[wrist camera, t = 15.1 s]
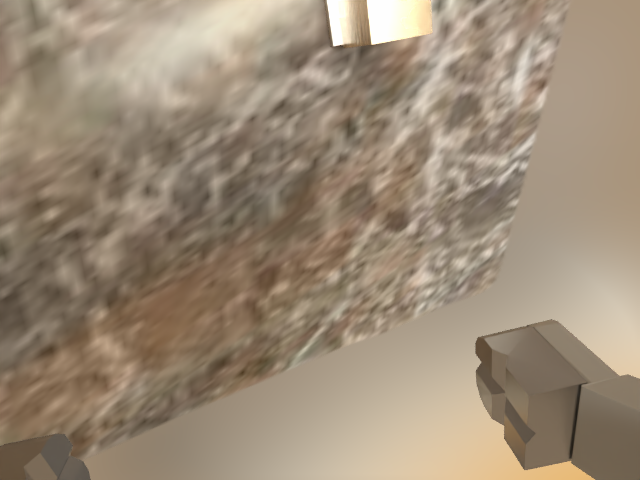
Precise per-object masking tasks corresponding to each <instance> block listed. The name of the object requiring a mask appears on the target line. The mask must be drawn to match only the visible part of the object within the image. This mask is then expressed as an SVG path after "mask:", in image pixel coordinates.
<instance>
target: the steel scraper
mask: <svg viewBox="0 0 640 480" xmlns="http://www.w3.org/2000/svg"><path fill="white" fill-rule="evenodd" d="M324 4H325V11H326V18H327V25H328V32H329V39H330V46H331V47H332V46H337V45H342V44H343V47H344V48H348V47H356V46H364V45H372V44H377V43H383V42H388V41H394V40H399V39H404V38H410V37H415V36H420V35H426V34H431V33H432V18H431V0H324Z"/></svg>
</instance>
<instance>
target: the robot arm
mask: <svg viewBox="0 0 640 480" xmlns="http://www.w3.org/2000/svg"><path fill="white" fill-rule="evenodd" d="M476 355H477V356H478V358H479V359H480V360H481V362H482V363H481V364H480V365H479V367H478V368H477V370H476V382H477V387H478V390H479V394H480V397H481V400H482V402H483V404H484V406H485V408H486V410H487V412H488V413H489V415H490V416H491V418H492V419H493V420H495V421H497V422H499V423H500V424H502V425H504V439H505V440H506V442H507V444H508V445H509V447H510V448H511V450H512V451H513V453H514V454H515V456H516V458H517V459H518V461H519V462H520V464H521V466H522V467H523V469H524V470H528V469H533V468H538V467H543V466H548V465H552V464H557V463H562V462H567V461H571V463H572V464H573V465H575V466H576V467H578V468H579V469H581V470H582V471H584V472H585V473H587V474H588V475H590V476H591V477H592V478H594V479H595V480H640V379H639V378H636V377H633V376H631V375H623V376H619V375H618V374H616V373H615V372H614V371H613V370H612V369H611V368H610V367H609V366H608V365H606V364H605V363H604V362H603V361H602V360H601V359H600V358H598V357H597V356H596V355H595V354H594V353H593V352H592V351H591V350H590V349H588V348H587V347H586V346H585V345H584V344H583V343H582V342H581V341H579V340H578V339H577V338H576V337H575V336H574V335H573V334H572V333H570V332H569V331H568V330H567V329H566V328H565V327H564V326H562V325H561V324H560V323H559V322H557V321H555V320H552V319H551V320H547V321H543V322H539V323H535V324H531V325H527V326H525V327H520V328H515V329H511V330H507V331H502V332H498V333H494V334H490V335H486V336H481V337H478V338H477V341H476ZM72 447H73V445H72V444H71V442H70V441H69V440H68V438H67V437H66V436H65V434H52V435H47V436H42V437H37V438H32V439H28V440H23V441H18V442H13V443H8V444H4V445H2V446H0V480H91V479H90V475H89V471H88V469H87V467H86V466H85V464H84V462H83V461H81V460H79V459H77V458H75V457H72V456H70V454H71V450H72Z"/></svg>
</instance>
